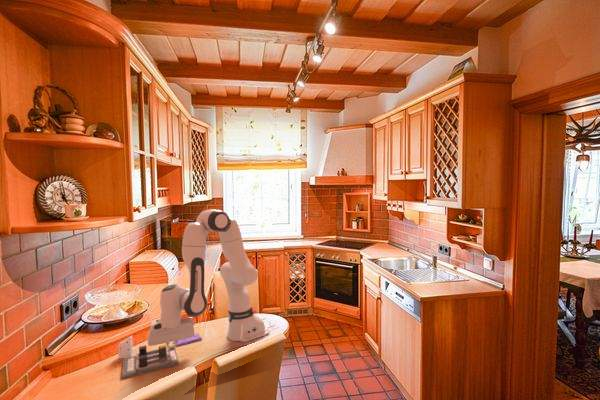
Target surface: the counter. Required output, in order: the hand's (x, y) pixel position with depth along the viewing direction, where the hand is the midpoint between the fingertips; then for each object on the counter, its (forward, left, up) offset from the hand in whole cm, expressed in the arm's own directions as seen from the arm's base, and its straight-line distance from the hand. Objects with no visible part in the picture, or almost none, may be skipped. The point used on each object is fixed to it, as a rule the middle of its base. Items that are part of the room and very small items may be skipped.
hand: (172, 350), depth 150 cm
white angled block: (+19, -13, -4) cm, 23 cm away
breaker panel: (+9, 0, -4) cm, 10 cm away
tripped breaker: (+4, 0, -2) cm, 5 cm away
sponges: (-9, -16, -5) cm, 19 cm away
